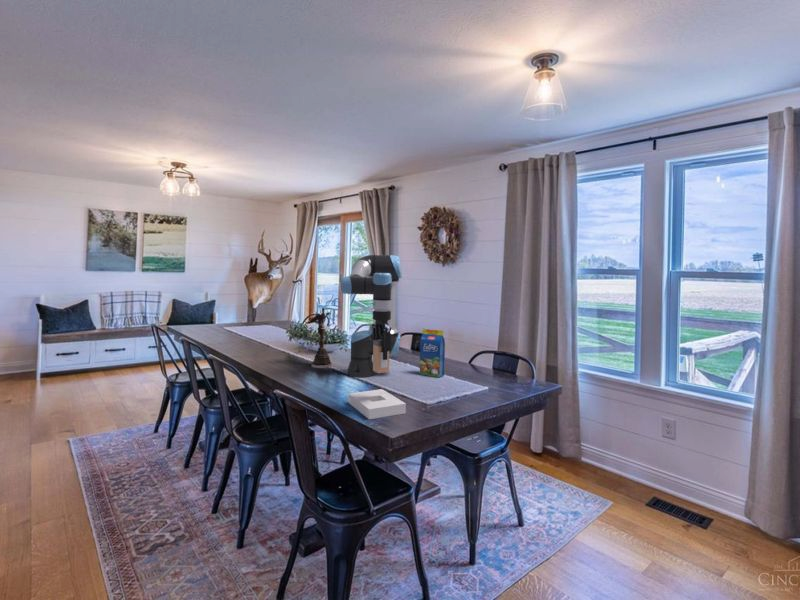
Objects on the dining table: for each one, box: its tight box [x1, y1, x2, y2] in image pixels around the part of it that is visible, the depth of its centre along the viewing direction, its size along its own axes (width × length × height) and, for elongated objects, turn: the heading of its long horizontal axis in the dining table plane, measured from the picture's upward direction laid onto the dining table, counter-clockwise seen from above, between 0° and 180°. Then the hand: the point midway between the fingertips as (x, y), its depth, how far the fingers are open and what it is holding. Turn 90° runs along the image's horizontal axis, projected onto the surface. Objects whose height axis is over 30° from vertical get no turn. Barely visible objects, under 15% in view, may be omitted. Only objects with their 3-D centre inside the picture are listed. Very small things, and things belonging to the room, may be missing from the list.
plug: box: [372, 339, 390, 374], centre depth 175 cm, size 5×5×13 cm
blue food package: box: [419, 328, 446, 378], centre depth 228 cm, size 6×12×25 cm, turn 61°
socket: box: [347, 388, 407, 420], centre depth 174 cm, size 22×16×4 cm
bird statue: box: [304, 307, 332, 369], centre depth 245 cm, size 17×13×35 cm
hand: (380, 365), depth 175 cm, fingers closed on plug, 5 cm apart
